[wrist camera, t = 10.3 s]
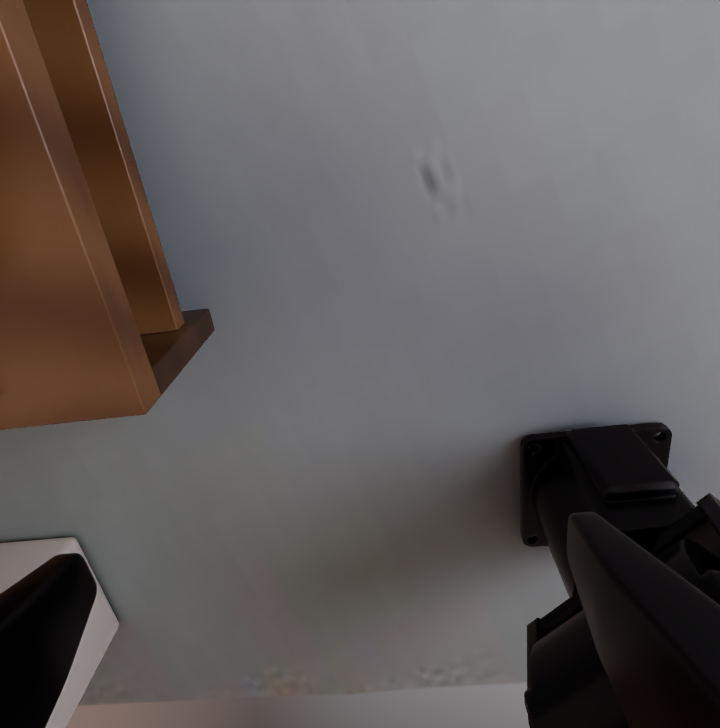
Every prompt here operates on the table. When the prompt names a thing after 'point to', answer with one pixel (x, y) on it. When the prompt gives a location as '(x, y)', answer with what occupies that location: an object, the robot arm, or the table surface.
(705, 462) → the table surface
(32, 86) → the walnut wood stand
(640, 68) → the table surface
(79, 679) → the medicine bottle
